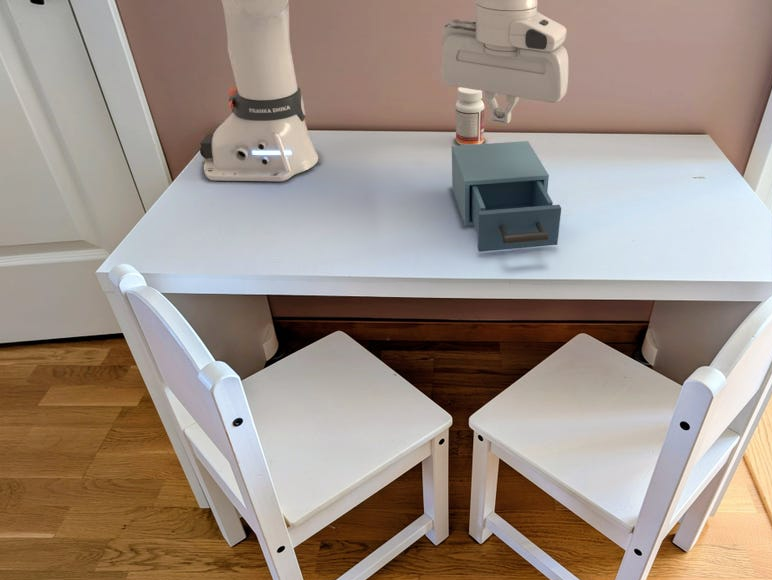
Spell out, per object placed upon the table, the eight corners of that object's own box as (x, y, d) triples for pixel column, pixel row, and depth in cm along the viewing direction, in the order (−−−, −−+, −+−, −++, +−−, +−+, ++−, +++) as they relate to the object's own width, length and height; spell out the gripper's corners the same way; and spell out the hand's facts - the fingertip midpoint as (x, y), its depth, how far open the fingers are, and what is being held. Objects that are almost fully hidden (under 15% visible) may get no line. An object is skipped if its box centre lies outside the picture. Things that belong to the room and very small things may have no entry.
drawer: (565, 259, 99) (569, 221, 94) (483, 267, 97) (484, 229, 92) (536, 206, 112) (539, 171, 107) (464, 212, 110) (464, 176, 105)
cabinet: (544, 220, 110) (549, 175, 104) (465, 226, 108) (464, 181, 102) (525, 183, 120) (528, 140, 115) (452, 189, 118) (451, 145, 112)
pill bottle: (472, 134, 138) (472, 81, 131) (489, 142, 135) (490, 89, 127) (450, 140, 135) (449, 87, 128) (467, 150, 132) (467, 96, 124)
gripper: (432, 22, 90) (434, 116, 100) (565, 40, 85) (554, 138, 94) (450, 13, 95) (450, 104, 104) (577, 30, 89) (565, 124, 98)
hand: (500, 120), depth 99 cm, fingers closed
